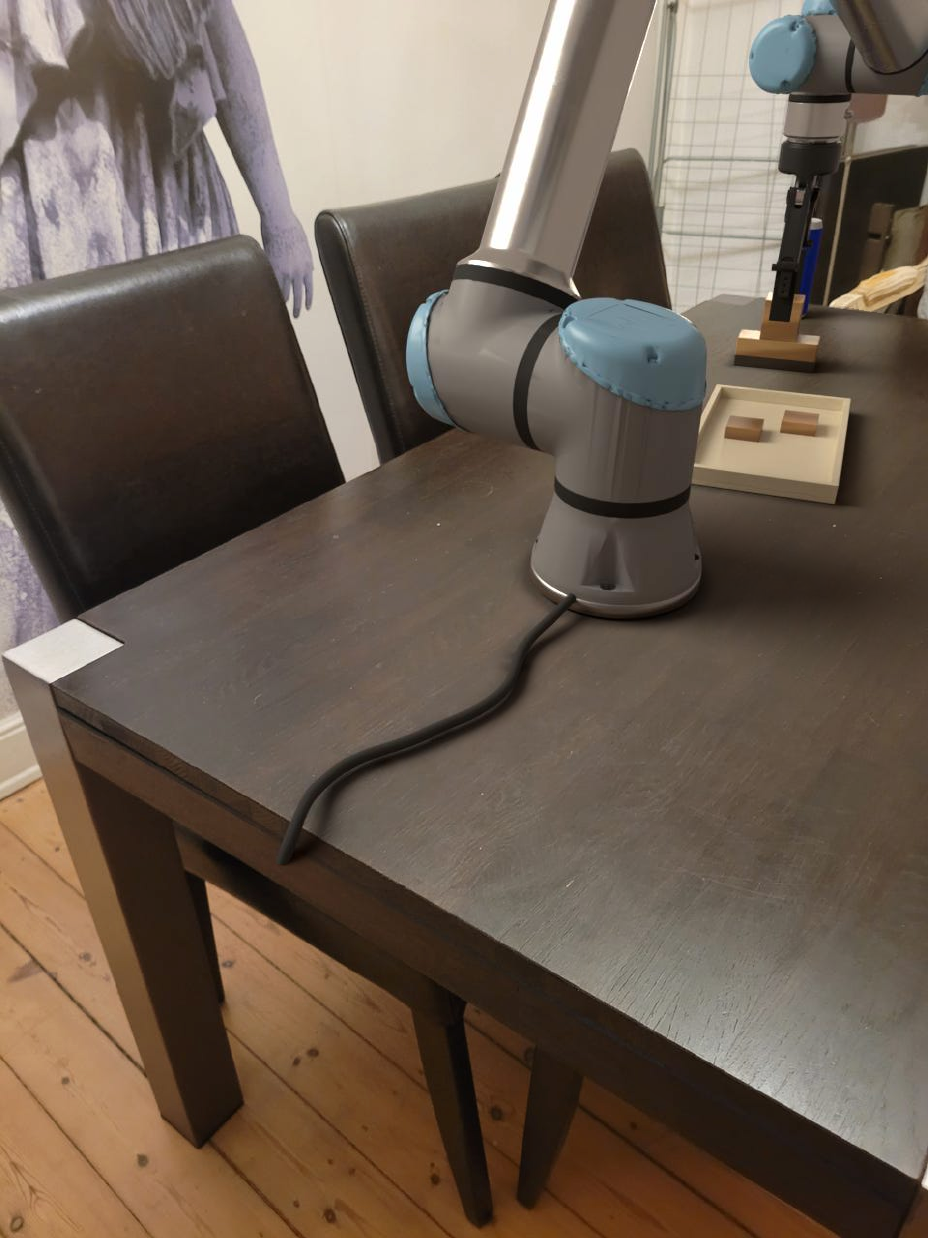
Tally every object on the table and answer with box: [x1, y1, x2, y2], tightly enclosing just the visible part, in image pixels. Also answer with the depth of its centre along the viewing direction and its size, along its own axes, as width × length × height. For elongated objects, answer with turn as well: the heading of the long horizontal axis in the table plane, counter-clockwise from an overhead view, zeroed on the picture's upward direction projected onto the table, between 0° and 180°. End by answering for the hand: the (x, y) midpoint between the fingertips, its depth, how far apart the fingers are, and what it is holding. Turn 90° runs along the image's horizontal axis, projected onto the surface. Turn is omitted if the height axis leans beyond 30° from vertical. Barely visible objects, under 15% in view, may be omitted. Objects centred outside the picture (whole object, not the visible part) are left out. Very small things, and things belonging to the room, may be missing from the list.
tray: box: [691, 383, 852, 505], centre depth 109 cm, size 28×17×2 cm, turn 158°
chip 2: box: [780, 410, 819, 437], centre depth 111 cm, size 4×4×2 cm
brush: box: [733, 291, 821, 374], centre depth 132 cm, size 4×11×10 cm, turn 68°
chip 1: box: [724, 415, 764, 442], centre depth 110 cm, size 4×4×2 cm
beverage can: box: [799, 217, 824, 318], centre depth 152 cm, size 5×5×15 cm
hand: (784, 308), depth 130 cm, fingers open, 13 cm apart
